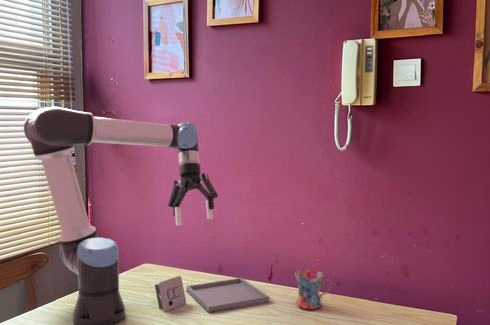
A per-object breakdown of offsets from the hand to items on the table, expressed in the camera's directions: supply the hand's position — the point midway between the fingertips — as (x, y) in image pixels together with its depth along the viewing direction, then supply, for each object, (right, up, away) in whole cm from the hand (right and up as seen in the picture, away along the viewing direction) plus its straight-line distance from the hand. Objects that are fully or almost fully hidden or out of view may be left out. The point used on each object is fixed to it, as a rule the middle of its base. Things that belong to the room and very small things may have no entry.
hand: (194, 222), depth 160 cm
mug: (+40, -26, -13) cm, 49 cm away
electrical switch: (-6, -26, -13) cm, 30 cm away
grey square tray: (+12, -25, -5) cm, 28 cm away
